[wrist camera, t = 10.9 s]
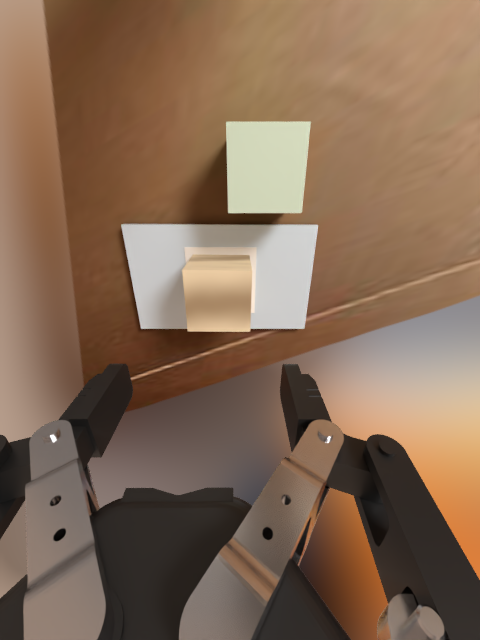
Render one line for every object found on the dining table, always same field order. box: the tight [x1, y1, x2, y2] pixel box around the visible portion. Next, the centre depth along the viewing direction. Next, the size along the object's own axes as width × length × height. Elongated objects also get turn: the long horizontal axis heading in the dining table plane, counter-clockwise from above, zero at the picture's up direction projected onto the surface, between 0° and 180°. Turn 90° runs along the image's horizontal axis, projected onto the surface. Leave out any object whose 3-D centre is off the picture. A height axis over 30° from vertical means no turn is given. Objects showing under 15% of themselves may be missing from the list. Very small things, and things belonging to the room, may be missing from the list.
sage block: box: [226, 122, 311, 213], centre depth 22 cm, size 6×6×6 cm
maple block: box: [182, 254, 252, 332], centre depth 26 cm, size 6×6×6 cm
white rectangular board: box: [121, 224, 318, 329], centre depth 29 cm, size 12×20×1 cm, turn 90°
